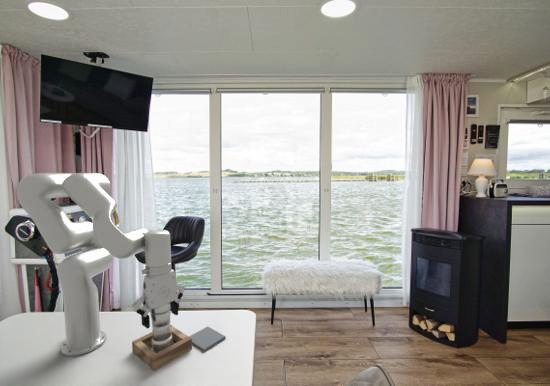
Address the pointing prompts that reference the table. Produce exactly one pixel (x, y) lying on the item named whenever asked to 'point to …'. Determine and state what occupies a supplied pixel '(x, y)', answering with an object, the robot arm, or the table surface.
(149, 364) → the wooden frame
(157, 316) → the plastic bottle
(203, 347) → the rubber mat
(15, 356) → the table surface
